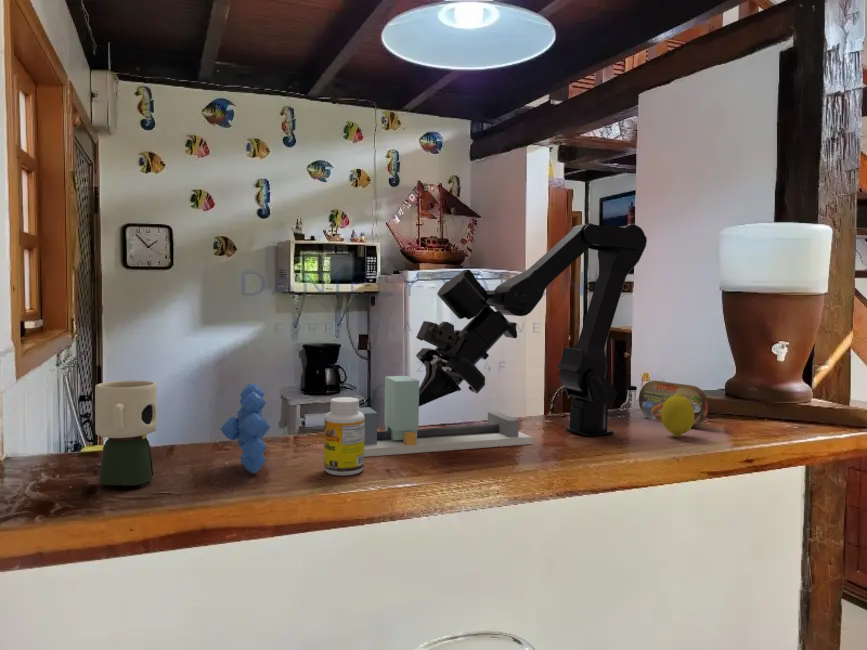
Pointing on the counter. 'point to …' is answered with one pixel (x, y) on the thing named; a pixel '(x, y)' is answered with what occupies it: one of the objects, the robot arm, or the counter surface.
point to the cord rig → (443, 436)
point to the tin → (660, 391)
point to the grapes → (249, 428)
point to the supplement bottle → (344, 437)
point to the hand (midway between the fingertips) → (414, 404)
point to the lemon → (677, 415)
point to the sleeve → (401, 405)
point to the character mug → (126, 430)
